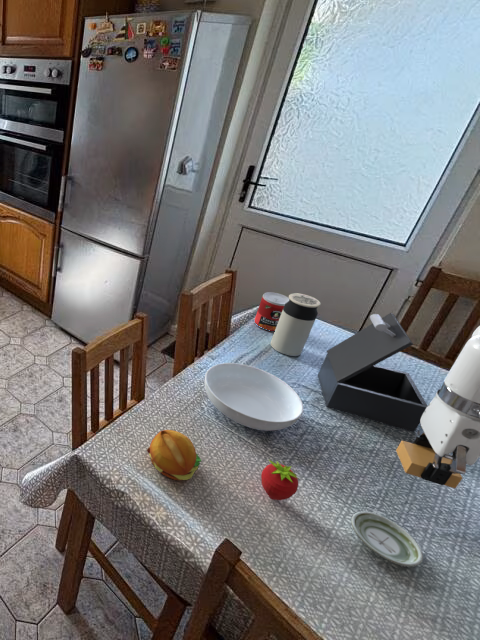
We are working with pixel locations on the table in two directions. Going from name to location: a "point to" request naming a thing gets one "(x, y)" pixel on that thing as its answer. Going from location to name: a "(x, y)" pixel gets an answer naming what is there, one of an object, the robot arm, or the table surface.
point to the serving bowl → (252, 396)
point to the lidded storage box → (375, 395)
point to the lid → (368, 347)
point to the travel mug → (295, 324)
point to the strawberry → (279, 481)
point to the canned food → (270, 310)
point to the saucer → (386, 539)
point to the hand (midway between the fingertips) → (425, 466)
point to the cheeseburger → (174, 455)
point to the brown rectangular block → (421, 461)
